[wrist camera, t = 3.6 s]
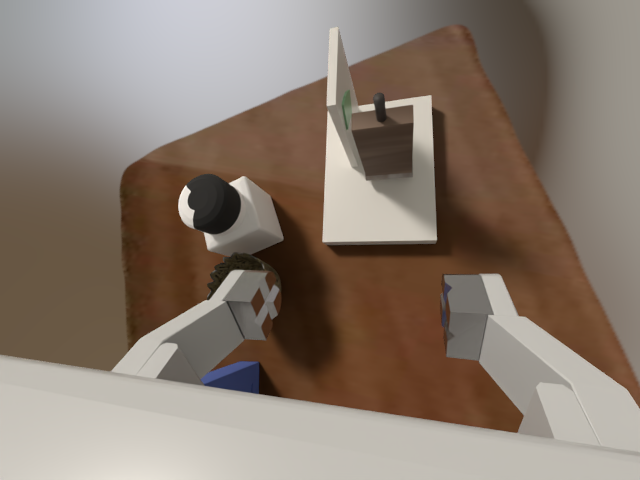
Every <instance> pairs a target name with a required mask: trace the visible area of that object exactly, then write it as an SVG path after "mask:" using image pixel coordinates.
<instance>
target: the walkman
mask: <svg viewBox="0 0 640 480" xmlns="http://www.w3.org/2000/svg"><path fill="white" fill-rule="evenodd" d="M201 381H202V382H203V384H204V385H205V386H209V387H215V388H222V389H229V390H235V391H242V392H248V393H255V394H259V362H245V361H240V362H237V363H234V364H232V365H229V366H226V367H223V368H220V369H218V370H215V371H212V372H209V373H207V374H206V375H205V376H204V377H203V378H201Z"/></svg>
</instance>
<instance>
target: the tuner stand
mask: <svg viewBox="0 0 640 480" xmlns="http://www.w3.org/2000/svg"><path fill="white" fill-rule="evenodd" d="M407 105H413V116H414V127H413V154H412V159H413V177H408V178H395V179H382V180H368V181H366V178H365V171H364V168H363V165H362V162H361V159H360V156H359V153H358V150H357V147H356V144H355V140H354V137H353V134H352V131H351V118H352V113H358V112H365V111H372V110H375V106H374V104H369V105H363V106H358V104H357V100H356V96H355V92H354V88H353V84H352V80H351V76H350V72H349V68H348V64H347V60H346V56H345V52H344V48H343V43H342V39H341V35H340V32H339V27H335V28H331V29H330V36H329V61H328V84H327V108H328V120H327V145H326V169H325V194H324V219H323V243H325V244H326V245H375V244H435V243H436V241H437V227H436V202H435V178H434V153H433V128H432V103H431V95H429V96H423V97H416V98H409V99H403V100H396V101H389V102H385V108H393V107H400V106H407Z"/></svg>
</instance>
